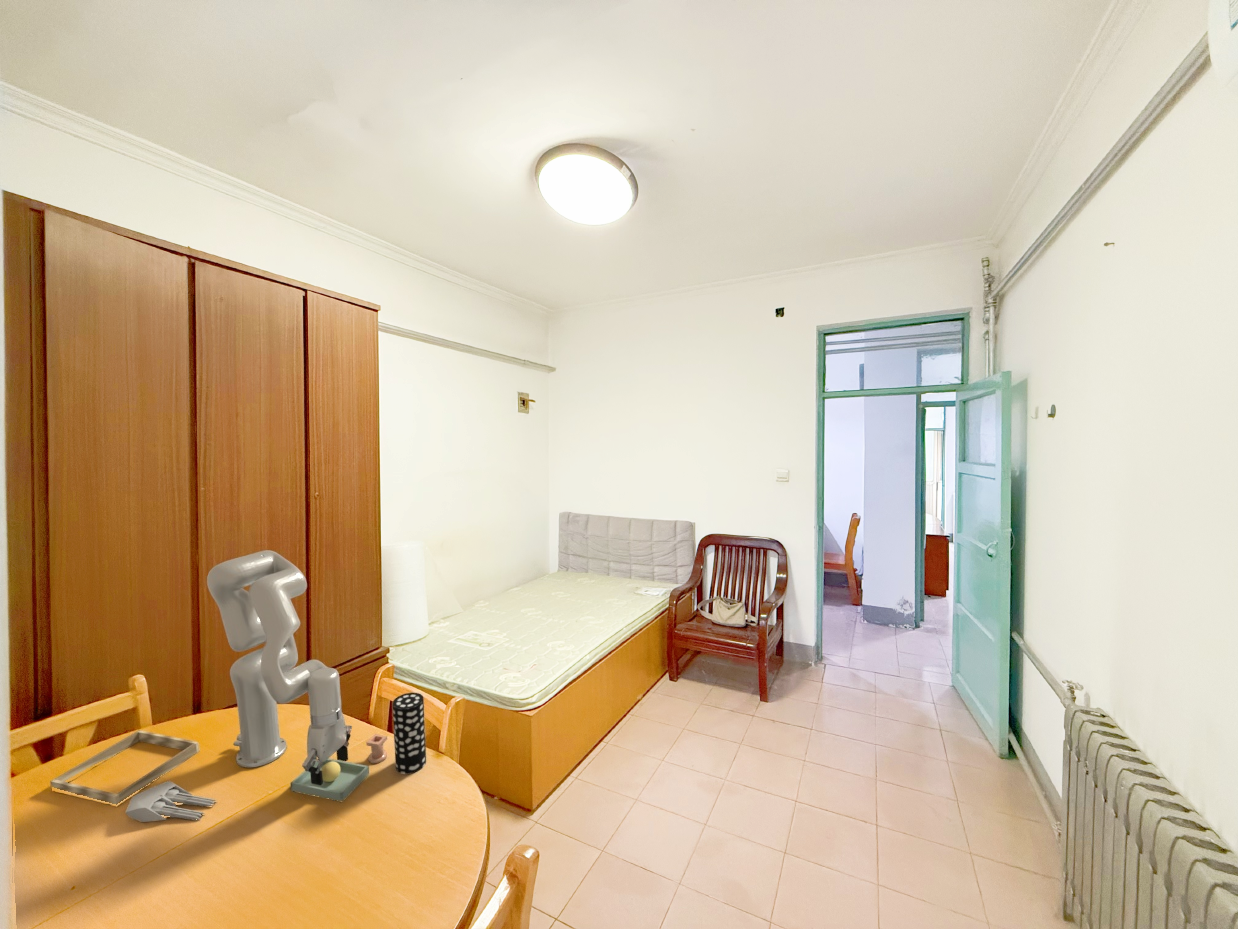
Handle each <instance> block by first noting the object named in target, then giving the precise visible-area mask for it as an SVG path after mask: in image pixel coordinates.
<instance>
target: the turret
mask: <svg viewBox="0 0 1238 929" xmlns="http://www.w3.org/2000/svg"><path fill="white" fill-rule="evenodd" d="M213 801H217V802H218V800H217V799H214V798H209V797H202V796H197V795H193V794H192V793H190V792H188V791H187V790H185V789H184V788H182V787H181V786H179V785H178V784H176V783H174V782H172V780H171V781H170V780H168V781H165V782H163V783H162V782H161V783H159V784H156V785H154V786H151V788H148V789H144V790H142V791H140V792H139V793H137V794H136V795H134V796H133V797H131V798H130V801H129V802H128V806H127V808H126V810H125V814H126V815H127V816H128V817H129V818H131V819H134V820H135V821H139V822H141V823H146V822H155V821H157V822H158V821H164V820H167V818H164V817H162V816H161V815H164V816H170V817H172V818H178V819H179V818H180V819H186V820H190V819H193V820H192V821H196V819H197V821H201V817H202V818H203V815H201V814H205V815H206V813H204V812H203V811H199V810H193V809H187V808H182V807H178V806H176V804H175V803H173V802H177V803H183V804H187V805H193V806H197V805H200V806H199V807H203V806H212V807H213V806H214V805H215V802H213ZM211 804H214V805H211Z"/></svg>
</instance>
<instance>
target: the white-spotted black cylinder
mask: <svg viewBox="0 0 1238 929" xmlns="http://www.w3.org/2000/svg"><path fill="white" fill-rule="evenodd" d="M424 698H425V697H424V696H423V694H421V693H419V692H406V693H404V694H400V695H398V696H396V698H394V699H393V701H392V719H393V720H392V723H393V741H394V742H393V745H394V760H395V762H394V764H395V770H396V771H397V772H398V773H400V774H402V775H410V774H415V773H417V772H419V771H420V770H422V769H423V768H424V767H425V765H426V763H427V748H426V727H425V724H426V723H425V702H424Z"/></svg>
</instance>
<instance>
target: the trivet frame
mask: <svg viewBox="0 0 1238 929" xmlns="http://www.w3.org/2000/svg"><path fill="white" fill-rule="evenodd" d="M138 742H142V743H143V742H144V743H147V744H153V745H157V746H161V747H166V748H171V749H174V750H175V749H176V750H181V751H179V752H178V753H177V754H176V755H174V756H172V757H171V758H169V759H168V760H165V762H163V763H161V764H160V765H158V766H157V767H156V768H154V769H152V770H151V771H149V772H148V773H147V774H145V775H144V776H142V777H140V778H138V779H137V780H136V781H134V782H132V783H131V784H129V785H128V786H126V787H125V788H124V789H122V790H120V791H118V792H117V793H114V792H109V791H104V790H100V789H97V788H93V787H88V786H86V785H85V786H84V785H80V784H76V783H72V782H70V783H68V782H65V781H66V780H68V779H70V778H71V777H73V776H75V775H76V774H78V773H80V772H82V771H84V770H86V769H87V768H89V767H92V766H93V765H95V764H97V763H99V762H101V761H103V760H106V759H108V758H110V757H112V756H113V757H115V756H117V755H118V754H117V753H119V752H120V753H121V751H122V752H123V750H124V751H126V750H127V749H129V748H130V747H132V746H134V745H135V744H137V743H138ZM199 743H200V742H198V741H194V740H190V739H185V738H179V737H175V736H170V735H165V734H161V733H157V732H156V733H154V732H151V731H145V730H137V731H135V732H133V733H131V734H129V735H128V736H127V737H124V738H122V739H121V740H120V741H118V742H115V743H114V744H113V745H111V746H109V747H106V748H105V749H104V750H102V751H100V752H98V753H97V754H94V755H93V756H91V757H89V758H88V759H86V760H85V761H82V762H81V763H79V764H77V765H75V766H74V767H72V768H70V769H69V770H67V771H65V772H64V773H62V774H60V775H58V776H57V777H54V778H53V779H52V780H50V782H49V784H50V788H51V787H54V788H57V789H60V790H64V791H68V792H71V793H75V794H77V795H83V796H87V797H89V798H93V799H97V800H101V801H105V802H109V803H112V804H116V805H117V804H118V803H120V802H121V801H123V800H124V799H126V798H127V797H129V796H130V795H132V794H133V793H135V792H136V791H138V790H140V789H141V788H143V787H145V786H146V785H148V784H149V783H151V782H152V781H153V780H155V779H157V778H158V777H160V776H161V775H163V774H165V773H166V772H168V771H170V770H171V771H173V770H174V769H175V767H176V768H178V766H181V764H183V763H184V762H186V761H187V760H189V759H190V758H191V757H192V758H193V756H195V755H196V754H199V752H200V744H199ZM126 748H127V749H126ZM120 753H119V754H120ZM116 754H117V755H116ZM114 755H115V756H114ZM113 757H112V758H113ZM110 759H111V758H110ZM108 760H109V759H108ZM173 768H174V769H173ZM172 769H173V770H172ZM171 771H170V772H171ZM168 773H169V772H168ZM165 775H166V774H165Z"/></svg>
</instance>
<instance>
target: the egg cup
mask: <svg viewBox="0 0 1238 929" xmlns="http://www.w3.org/2000/svg"><path fill="white" fill-rule="evenodd" d="M387 740H388V736H387V735H384V734H377V733H375V734H373V736H371V737H370V738H369V739H368V740H367V741H366V743H365V744H366V746H367V747H370V748H371V752H370V754H369V755H368V762H369V763H370V764H379V763H382V762H384V761H385V760H386V759H387V758H388V752H387V751H386V750H385V749H384V743H385V742H386V741H387Z"/></svg>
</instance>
